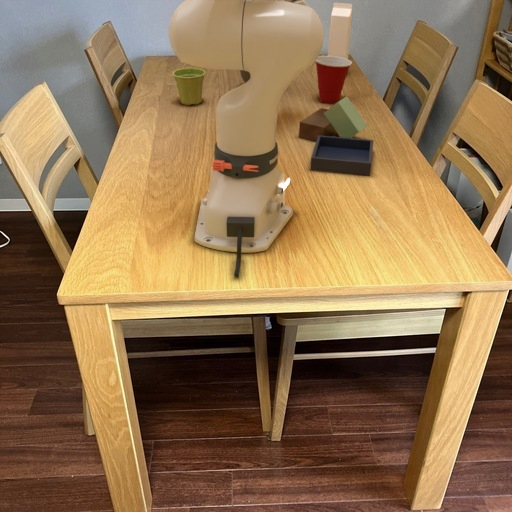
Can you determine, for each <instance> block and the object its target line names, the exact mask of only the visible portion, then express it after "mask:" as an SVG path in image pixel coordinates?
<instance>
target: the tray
mask: <svg viewBox="0 0 512 512" xmlns="http://www.w3.org/2000/svg"><path fill="white" fill-rule="evenodd" d="M373 149H374V139H366V138H355V137H352V138H345V137H340V136H335V135H334V136H322V135H318V138H317V141H316V142H315V144H314V148H313V151H312V154H311V157H310V169H309V170H310V171H316V172H325V173H334V174H335V173H337V174H345V175H355V176H356V175H357V176H366V177H370V175H371V168H372V160H373Z"/></svg>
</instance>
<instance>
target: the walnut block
mask: <svg viewBox="0 0 512 512" xmlns="http://www.w3.org/2000/svg"><path fill="white" fill-rule="evenodd" d="M328 109H329V108H328ZM328 109H327V108H323V107H320V108H318V109H317V110H316V111H314V112H313V113H311V114H310V115H308V116H306V117H305V118H303V119H301V120H300V121H299V126H298V138H299V139H304V140H308V141H312V142H314V143H316V141H317V138H318V135H322V136H334V137H335V135H337V134H338V133H337V132H336V130H335V129H334V127H333V126H332V125H331V123H330V122H329V120H328V119H327V118H326V116H325V115H324V113H325V112H326V111H327V110H328Z"/></svg>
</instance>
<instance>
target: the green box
mask: <svg viewBox="0 0 512 512" xmlns="http://www.w3.org/2000/svg"><path fill="white" fill-rule="evenodd" d="M324 115H325V116H326V118H327V119H328V120H329V122H330V123H331V125H332V126H333V127H334V129H335V130H336V132H337V134H338V137H345V138H354V137H355V136H357V134H359V133H360V132H362V131H363V130H364V129H365V128H367V127H368V124H367V122H366V121H365V119H364V118H363V117H362V115H361V114H360V112H359V111H358V109H357V108H356V107H355V105H354V104H353V102H352V101H351V99H350V98H349V96H344V97H343V98H340V99H339V101H338V102H336V103H333V105H332V106H331V107H329V108H328V110H327V111H326V112H325V113H324Z"/></svg>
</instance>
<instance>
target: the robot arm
mask: <svg viewBox="0 0 512 512" xmlns="http://www.w3.org/2000/svg"><path fill="white" fill-rule="evenodd" d="M324 37H325V36H324V27H323V24H322V21H321V18H320V16H319V15H318V13H317V12H316V10H315V9H314V8H313V7H311V6H309V4H308V3H307V2H306V1H305V0H184V1H182V3H180V4H179V5H178V6H177V7H176V9H175V10H174V12H173V13H172V15H171V18H170V21H169V24H168V39H169V44H170V47H171V50H172V51H173V53H174V55H175V56H176V58H177V59H178V60H179V61H180V62H181V63H182V64H186V65H189V66H193V67H195V68H200V69H205V70H226V71H240V70H245V71H248V72H249V73H250V79H249V80H248V81H247V82H246V83H245V82H244V83H243V84H241V85H239V86H236V87H235V88H232V89H230V90H228V91H227V92H226V93H224V94H223V95H222V96H221V97H220V98H219V99H218V101H217V103H216V105H215V132H216V134H215V135H216V141H215V143H214V149H213V161H212V166H210V177H209V184H208V191H206V192H205V197H204V198H202V199H201V201H200V205H199V206H200V207H199V211H198V217H197V221H196V226H195V231H194V242H195V243H196V244H198V245H200V246H203V247H205V248H208V249H213V250H217V251H223V252H232V253H236V260H235V261H236V262H235V268H234V272H233V273H234V274H233V276H234V277H235V278H238V277H239V275H240V270H241V264H242V263H241V262H242V253H243V254H245V253H246V254H247V253H250V254H251V253H260V252H264V251H267V250H268V249H269V248H270V247H271V245H273V242H274V241H275V240H276V239H277V237H278V236H279V235H280V234H281V232H282V230H283V229H284V227H285V226H286V225H287V224H288V222H289V221H290V219H291V218H292V217H293V215H294V211H293V208H292V207H291V206H290V205H287V204H286V189H287V187H288V185H289V184H290V182H291V178H290V177H288V178H287V179H286V176H285V173H284V172H283V171H281V169H280V168H279V166H278V160H279V158H278V157H279V145H278V142H277V125H278V117H279V109H280V105H281V102H282V99H283V97H284V94H285V92H286V91H287V89H289V86H290V85H291V84H292V82H293V81H294V80H295V79H296V78H297V77H298V76H299V75H300V74H302V73H303V72H304V71H306V70H308V69H309V68H310V67H311V66H312V65H313V64H314V63H316V59H317V58H318V56H320V54H321V51H322V49H323V45H324ZM285 179H286V180H285Z"/></svg>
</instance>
